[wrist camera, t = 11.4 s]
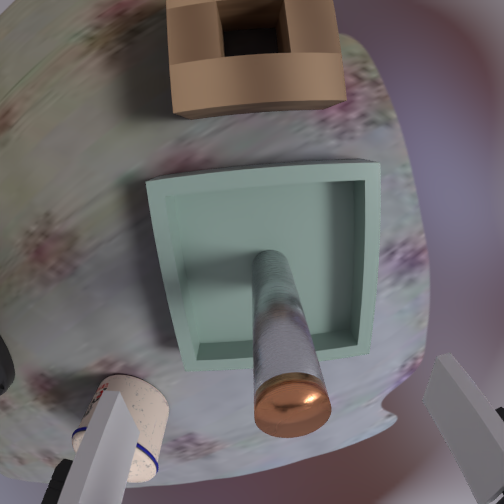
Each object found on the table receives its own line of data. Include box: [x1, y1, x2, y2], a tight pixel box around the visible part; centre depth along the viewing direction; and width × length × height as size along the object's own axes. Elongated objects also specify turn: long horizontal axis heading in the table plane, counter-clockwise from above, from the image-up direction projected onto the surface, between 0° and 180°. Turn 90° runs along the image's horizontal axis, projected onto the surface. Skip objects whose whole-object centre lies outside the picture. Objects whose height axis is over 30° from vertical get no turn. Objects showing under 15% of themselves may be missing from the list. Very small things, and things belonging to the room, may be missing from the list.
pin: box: [251, 250, 331, 438], centre depth 18 cm, size 3×3×15 cm
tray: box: [146, 159, 381, 371], centre depth 24 cm, size 16×16×4 cm
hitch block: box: [166, 0, 347, 120], centre depth 17 cm, size 10×10×6 cm
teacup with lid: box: [72, 375, 169, 483], centre depth 27 cm, size 12×9×12 cm
